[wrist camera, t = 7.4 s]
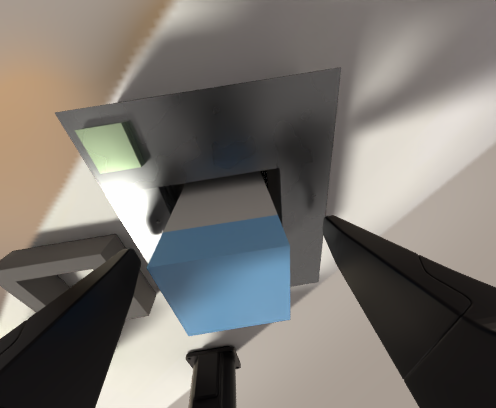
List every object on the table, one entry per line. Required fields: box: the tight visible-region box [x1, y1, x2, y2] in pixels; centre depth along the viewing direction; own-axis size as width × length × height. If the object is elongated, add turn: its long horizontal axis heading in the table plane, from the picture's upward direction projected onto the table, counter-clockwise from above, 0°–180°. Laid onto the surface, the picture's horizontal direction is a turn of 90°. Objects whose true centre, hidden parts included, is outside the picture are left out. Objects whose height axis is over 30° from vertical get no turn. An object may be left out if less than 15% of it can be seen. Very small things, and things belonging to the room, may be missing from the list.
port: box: [55, 67, 341, 287], centre depth 11 cm, size 12×10×4 cm
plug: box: [147, 171, 290, 336], centre depth 10 cm, size 4×4×8 cm
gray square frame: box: [0, 234, 156, 320], centre depth 15 cm, size 8×8×2 cm
